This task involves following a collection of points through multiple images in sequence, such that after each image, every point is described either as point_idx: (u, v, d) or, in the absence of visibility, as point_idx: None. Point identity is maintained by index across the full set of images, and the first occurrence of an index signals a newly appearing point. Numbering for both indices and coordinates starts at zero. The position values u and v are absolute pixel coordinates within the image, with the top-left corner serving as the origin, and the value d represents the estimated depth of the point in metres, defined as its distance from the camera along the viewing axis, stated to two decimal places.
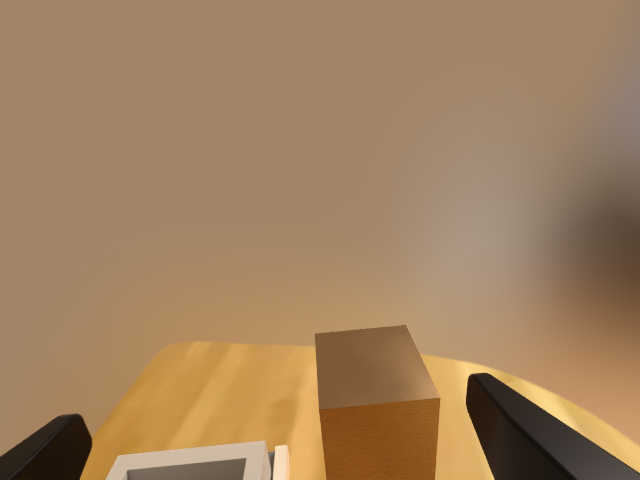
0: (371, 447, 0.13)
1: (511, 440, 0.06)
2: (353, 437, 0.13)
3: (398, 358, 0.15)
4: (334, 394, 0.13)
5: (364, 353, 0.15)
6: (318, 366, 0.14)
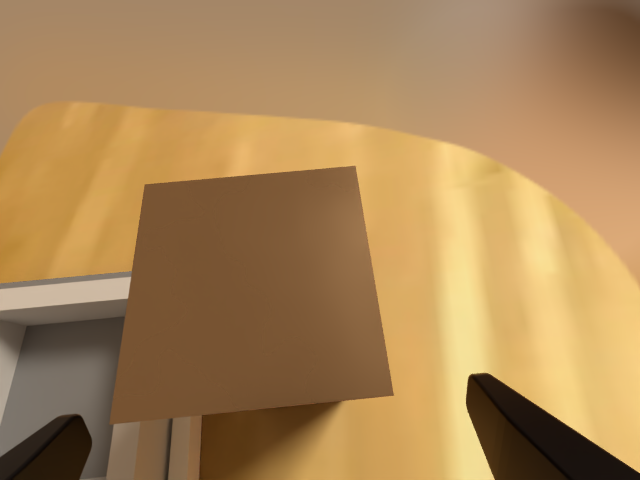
0: None
1: (511, 440, 0.06)
2: None
3: (321, 268, 0.06)
4: (154, 376, 0.06)
5: (246, 249, 0.06)
6: (133, 287, 0.06)
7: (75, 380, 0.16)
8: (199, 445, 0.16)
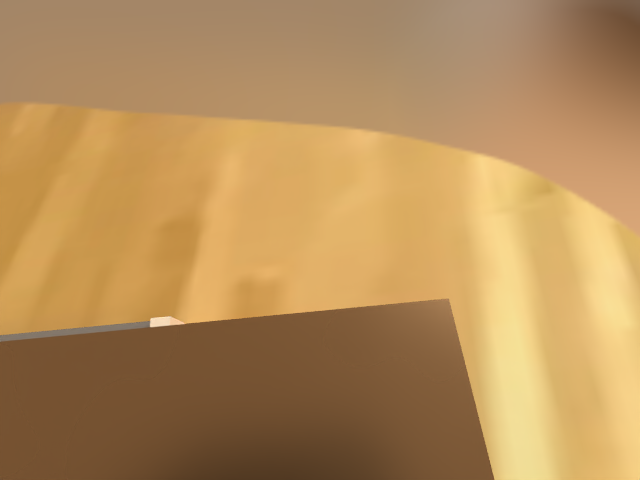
0: None
1: None
2: None
3: None
4: None
5: None
6: None
7: None
8: None
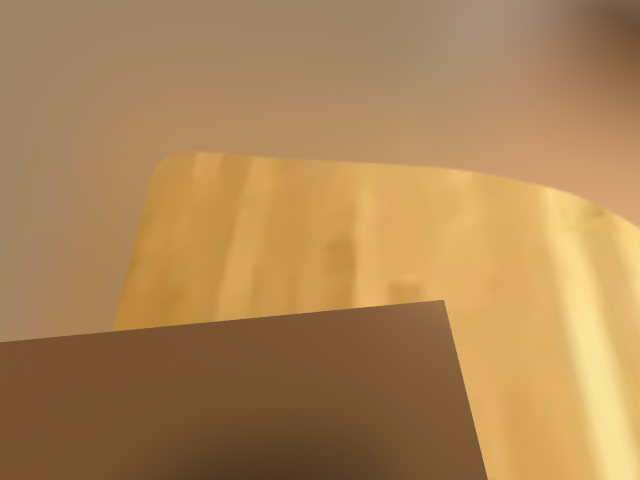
0: None
1: None
2: None
3: None
4: None
5: None
6: None
7: None
8: None
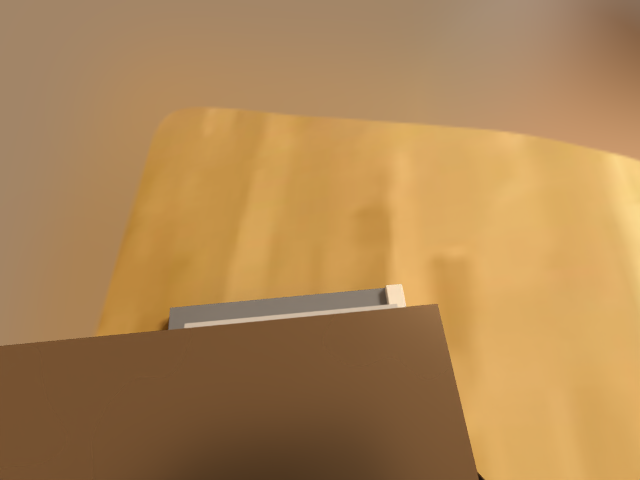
0: None
1: None
2: None
3: None
4: None
5: None
6: None
7: None
8: None
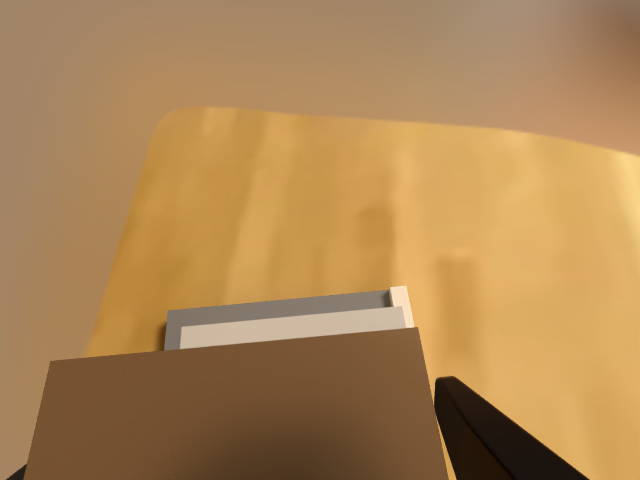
0: None
1: (470, 444, 0.06)
2: None
3: None
4: None
5: None
6: None
7: None
8: None
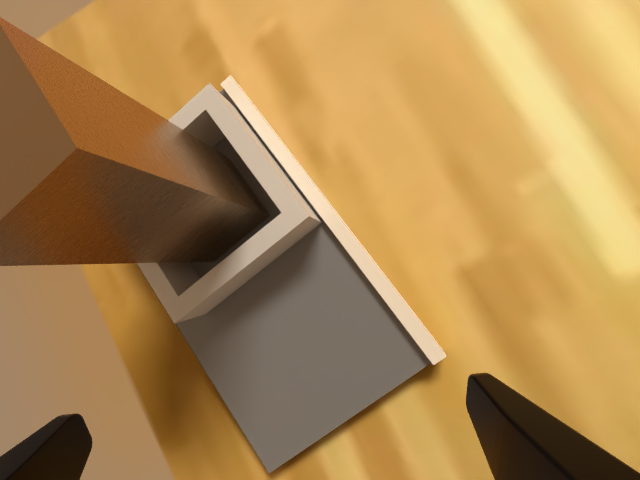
0: (85, 227, 0.10)
1: (511, 440, 0.06)
2: (48, 240, 0.10)
3: (6, 103, 0.08)
4: None
5: None
6: None
7: None
8: None
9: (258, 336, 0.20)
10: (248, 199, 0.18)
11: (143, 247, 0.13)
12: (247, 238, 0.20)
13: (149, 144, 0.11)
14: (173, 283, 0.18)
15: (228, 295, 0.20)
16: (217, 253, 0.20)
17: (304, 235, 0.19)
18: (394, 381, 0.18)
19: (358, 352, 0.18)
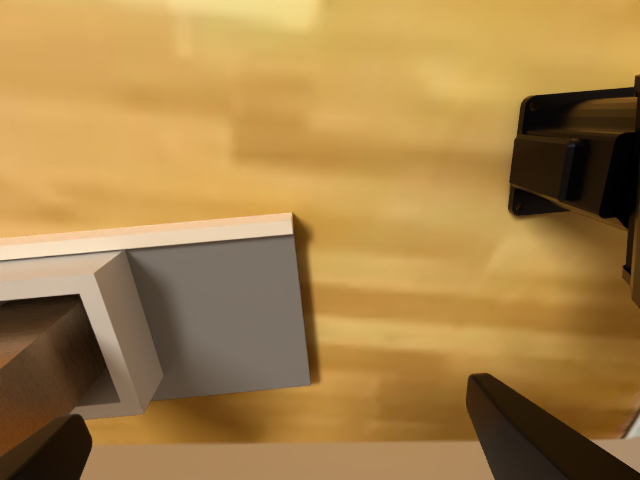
0: None
1: (511, 440, 0.06)
2: None
3: None
4: None
5: None
6: None
7: None
8: (96, 230, 0.19)
9: (203, 346, 0.21)
10: (59, 308, 0.18)
11: None
12: None
13: None
14: (109, 399, 0.19)
15: (155, 353, 0.21)
16: None
17: (129, 269, 0.19)
18: (292, 266, 0.20)
19: (255, 280, 0.20)
